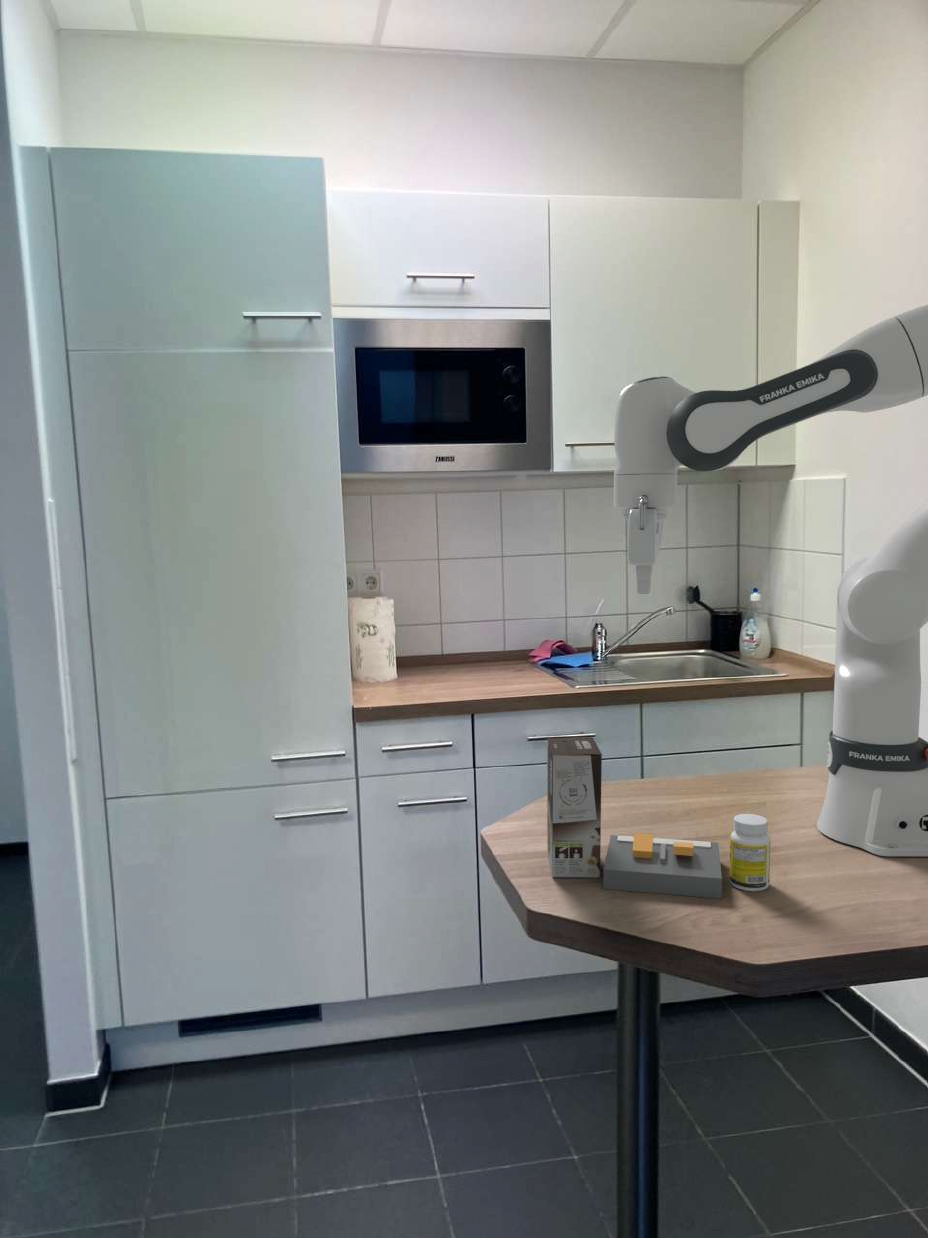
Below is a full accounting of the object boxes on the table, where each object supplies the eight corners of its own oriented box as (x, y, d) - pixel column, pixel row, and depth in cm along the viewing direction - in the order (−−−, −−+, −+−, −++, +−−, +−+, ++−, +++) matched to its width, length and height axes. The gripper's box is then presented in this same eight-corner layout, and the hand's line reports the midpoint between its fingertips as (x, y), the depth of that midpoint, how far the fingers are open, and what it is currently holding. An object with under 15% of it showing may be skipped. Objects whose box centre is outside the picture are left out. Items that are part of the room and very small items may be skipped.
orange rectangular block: (692, 850, 119) (692, 843, 119) (693, 856, 115) (693, 847, 115) (673, 849, 119) (673, 841, 119) (673, 854, 115) (673, 846, 115)
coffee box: (602, 878, 117) (603, 754, 115) (551, 878, 117) (551, 754, 115) (593, 851, 126) (594, 735, 124) (546, 851, 126) (546, 736, 124)
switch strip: (717, 860, 122) (718, 838, 122) (721, 898, 111) (722, 873, 110) (610, 852, 125) (610, 830, 125) (603, 888, 114) (603, 864, 113)
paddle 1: (653, 841, 120) (653, 834, 119) (652, 858, 116) (652, 851, 116) (634, 839, 120) (634, 833, 120) (632, 857, 117) (632, 850, 116)
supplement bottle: (741, 873, 118) (743, 809, 117) (776, 884, 115) (778, 818, 114) (721, 884, 115) (723, 819, 114) (757, 896, 111) (759, 828, 110)
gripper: (666, 495, 120) (665, 600, 122) (669, 495, 140) (667, 587, 142) (617, 495, 122) (616, 600, 123) (626, 496, 142) (625, 586, 143)
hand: (643, 593), depth 133 cm, fingers closed
